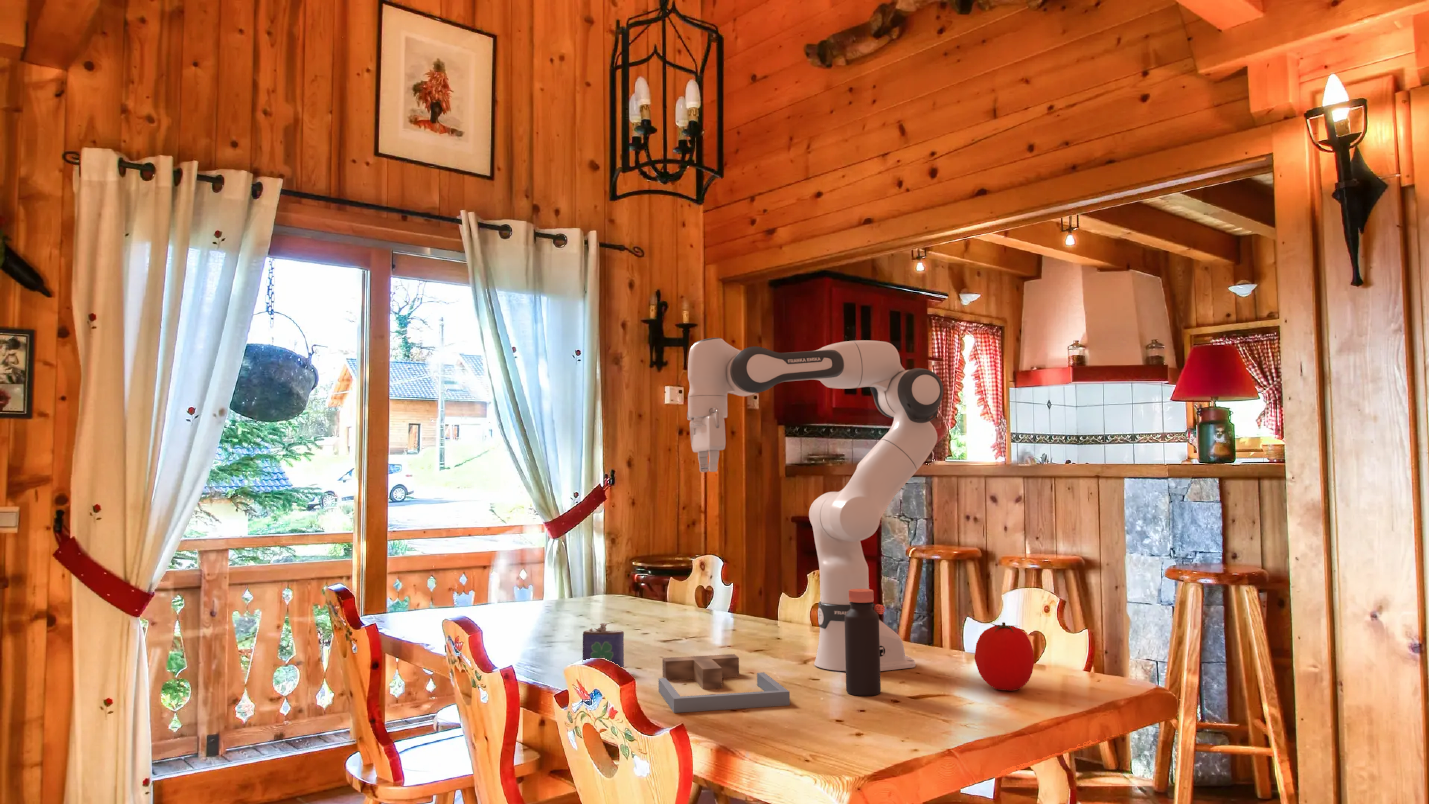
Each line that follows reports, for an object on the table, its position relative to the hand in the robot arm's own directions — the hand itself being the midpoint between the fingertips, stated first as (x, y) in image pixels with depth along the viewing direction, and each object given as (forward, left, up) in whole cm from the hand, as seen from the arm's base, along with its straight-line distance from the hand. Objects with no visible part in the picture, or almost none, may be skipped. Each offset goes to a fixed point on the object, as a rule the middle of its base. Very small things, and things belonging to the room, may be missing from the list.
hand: (708, 472), depth 209 cm
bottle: (-25, +27, -44) cm, 57 cm away
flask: (+23, -7, -44) cm, 50 cm away
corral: (+3, +24, -44) cm, 50 cm away
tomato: (-53, +32, -44) cm, 76 cm away
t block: (+3, +8, -44) cm, 45 cm away
